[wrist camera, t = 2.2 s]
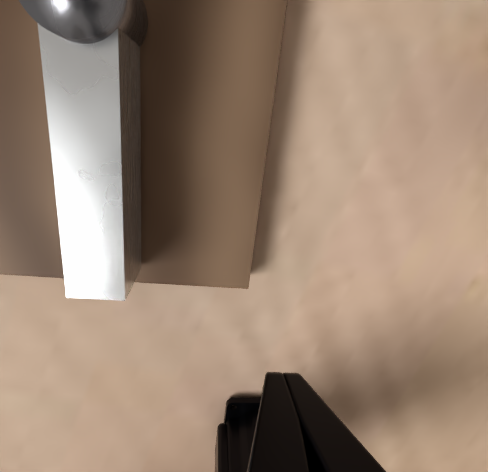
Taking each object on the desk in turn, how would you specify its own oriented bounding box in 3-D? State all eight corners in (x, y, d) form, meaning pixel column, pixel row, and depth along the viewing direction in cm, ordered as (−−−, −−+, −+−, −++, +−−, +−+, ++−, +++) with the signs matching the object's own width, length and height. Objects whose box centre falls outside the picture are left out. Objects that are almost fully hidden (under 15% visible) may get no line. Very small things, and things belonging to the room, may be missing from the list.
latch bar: (64, -38, 11) (-3, -106, 8) (148, -24, 12) (118, -83, 8) (87, 265, 16) (50, 306, 12) (147, 269, 16) (127, 310, 13)
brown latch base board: (297, -118, 12) (340, -246, 8) (245, 275, 19) (254, 324, 14) (-366, -261, 10) (-829, -562, 6) (-167, 250, 16) (-309, 299, 12)
